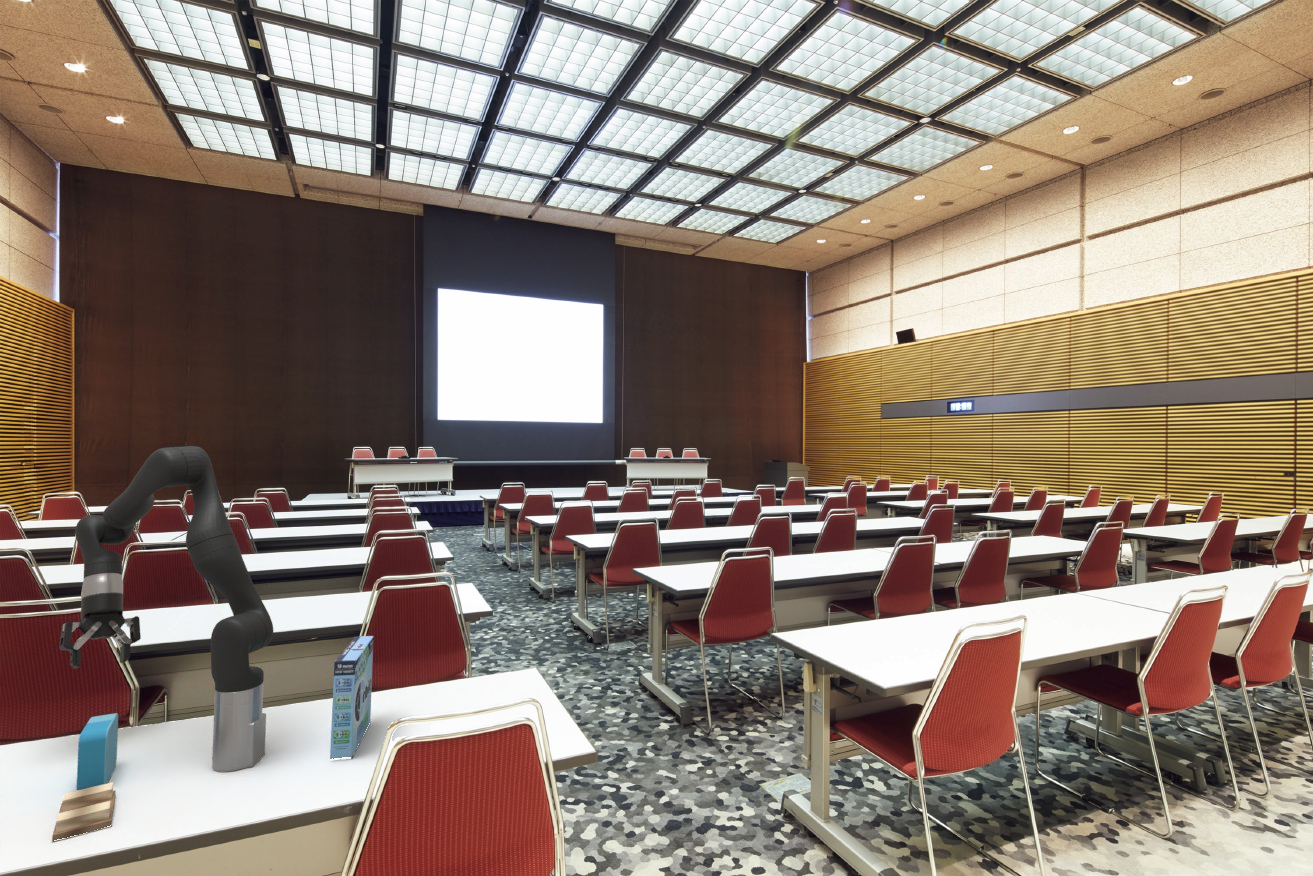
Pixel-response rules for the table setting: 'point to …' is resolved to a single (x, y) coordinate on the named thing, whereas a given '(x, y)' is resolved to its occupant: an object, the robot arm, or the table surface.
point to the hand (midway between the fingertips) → (100, 664)
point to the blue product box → (351, 696)
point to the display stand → (85, 811)
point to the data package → (97, 751)
